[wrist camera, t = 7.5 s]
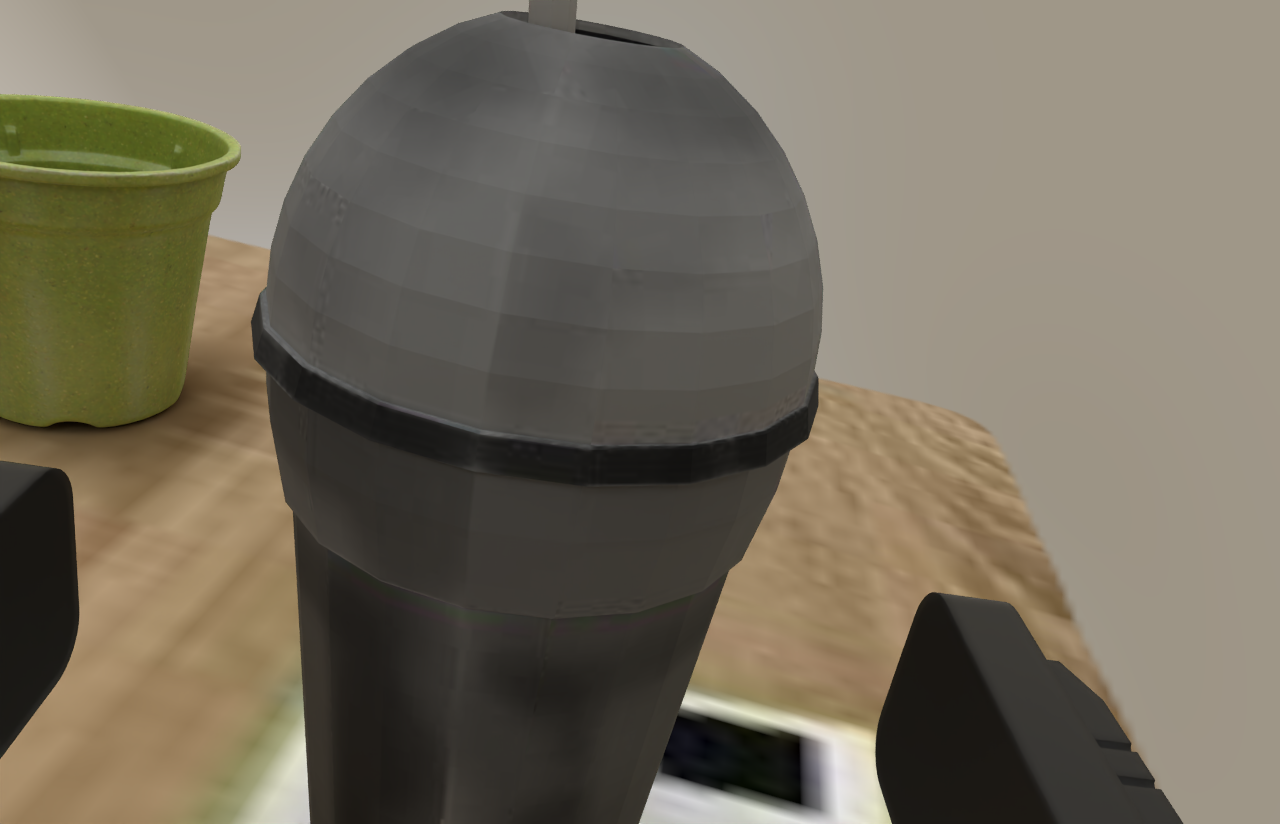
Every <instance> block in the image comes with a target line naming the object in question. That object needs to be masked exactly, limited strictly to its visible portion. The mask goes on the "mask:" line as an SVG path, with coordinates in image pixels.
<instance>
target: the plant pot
mask: <svg viewBox="0 0 1280 824" xmlns="http://www.w3.org/2000/svg"><path fill="white" fill-rule="evenodd" d="M240 157H241V146H240V144H239V143H238V141H236V140H235V139H234V138H233V137H232V136H230V135H228V134H227V133H225V132H223V131H221V130H219V129H217V128H214V127H212V126H210V125H208V124H205V123H202V122H200V121H196V120H193V119H190V118H187V117H183V116H180V115H176V114H172V113H168V112H163V111H158V110H153V109H148V108H142V107H136V106H130V105H125V104H117V103H110V102H102V101H93V100H86V99H77V98H64V97H52V96H51V97H50V96H37V95H15V94H12V95H6V94H0V417H2V418H5V419H8V420H11V421H14V422H18V423H22V424H26V425H32V426H39V427H46V426H50V425H52V424H54V423H58V422H65V421H76V422H82V423H87V424H90V425H93V426H95V427H112V426H118V425H124V424H128V423H131V422H135V421H139V420H143V419H145V418H148V417H151V416H153V415H155V414H158V413H160V412H162V411H164V410H165V409H167V408H168V407H170V406H171V405H172V404H174V403H175V402H176V401H177V399H178V398H179V396H180V393H181V391H182V388H183V385H184V381H185V375H186V369H187V363H188V356H189V349H190V343H191V336H192V329H193V322H194V315H195V308H196V302H197V297H198V291H199V285H200V279H201V273H202V267H203V261H204V255H205V249H206V243H207V237H208V231H209V225H210V220H211V215H212V212H213V211H214V210H215V209H216V208H217V207H218V205H219V203H220V200H221V196H222V191H223V186H224V181H225V177H226V173H227V171H228V170H231V169H232V168H234V167H235V166H236V165H237V164H238V162H239V161H240Z"/></svg>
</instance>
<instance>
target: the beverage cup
mask: <svg viewBox="0 0 1280 824" xmlns="http://www.w3.org/2000/svg"><path fill="white" fill-rule="evenodd" d="M576 9H577V0H529V13H528V12H516V11H501V12H498V13H494V14H491V15H487V16H483V17H480V18H476V19H472V20H469V21H465V22H462V23H458V24H456V25H454V26H452V27H450V28H448V29H446V30H444V31H442V32H440V33H438V34H435V35H433V36H431V37H429V38H427V39H425V40H423V41H421V42H419V43H417V44H415V45H414V46H412V47H411V48H409V49H407V50H406V51H404V52H403V53H402V54H400V55H399V56H398V57H396V58H395V59H393V60H392V61H391V62H389V63H388V64H387V65H385V66H384V67H382V68H381V69H380V70H378V71H377V72H376V73H375V74H373V75H372V76H370V77H369V78H368V79H367V80H366V81H365V82H364V83H363V84H362V85H361V86H360V87H359V88H358V89H357V90H356V91H355V92H354V93H353V94H352V95H351V96H350V97H349V98H348V99H347V100H346V101H345V102H344V103H343V104H342V106H341V107H340V108H339V109H338V110H337V111H336V112H335V113H334V114H333V115H332V116H331V118H330V119H329V121H328V122H327V124H326V125H325V127H324V128H323V130H322V131H321V133H320V134H319V135H318V137H317V138H316V140H315V141H314V143H313V144H312V146H311V147H310V149H309V150H308V151H307V153H306V154H305V156H304V158H303V160H302V163H301V165H300V167H299V169H298V171H297V173H296V175H295V178H294V180H293V182H292V184H291V186H290V188H289V190H288V193H287V195H286V197H285V199H284V202H283V206H282V209H281V213H280V216H279V220H278V224H277V227H276V231H275V234H274V238H273V241H272V245H271V252H270V261H269V270H268V279H267V287H266V288H265V289H264V290H263V291H262V292H261V293H260V295H259V298H258V301H257V304H256V308H255V311H254V314H253V317H252V320H251V326H252V338H253V350H254V359H255V360H256V361H257V362H258V363H259V364H260V365H261V366H262V367H263V369H264V370H265V371H266V384H267V394H268V404H269V413H270V422H271V427H272V433H273V438H274V443H275V449H276V454H277V459H278V464H279V470H280V475H281V480H282V486H283V491H284V496H285V502H286V503H287V504H288V505H289V507H290V508H291V509H292V510H293V521H294V539H295V557H296V575H297V592H298V610H299V628H300V646H301V664H302V682H303V700H304V718H305V736H306V753H307V771H308V789H309V807H310V824H639V821H640V818H641V816H642V813H643V810H644V807H645V804H646V802H647V799H648V796H649V793H650V790H651V788H652V785H653V782H654V779H655V776H656V773H657V771H658V768H659V765H660V762H661V759H662V757H663V754H664V751H665V748H666V745H667V743H668V740H669V737H670V734H671V731H672V729H673V726H674V723H675V720H676V717H677V715H678V712H679V709H680V706H681V703H682V701H683V698H684V695H685V692H686V689H687V687H688V684H689V681H690V678H691V675H692V673H693V670H694V667H695V664H696V661H697V659H698V656H699V653H700V650H701V647H702V645H703V642H704V639H705V636H706V633H707V631H708V628H709V625H710V622H711V619H712V617H713V614H714V611H715V608H716V605H717V603H718V600H719V597H720V594H721V591H722V588H723V586H724V583H725V580H726V577H727V574H728V572H729V570H730V569H731V568H732V567H734V566H735V565H736V564H737V563H739V562H740V561H741V560H742V558H743V556H744V554H745V552H746V550H747V548H748V546H749V544H750V542H751V540H752V538H753V536H754V534H755V532H756V530H757V528H758V526H759V524H760V522H761V520H762V518H763V516H764V514H765V512H766V510H767V508H768V506H769V504H770V502H771V500H772V498H773V497H774V495H775V493H776V491H777V488H778V485H779V482H780V479H781V476H782V473H783V470H784V467H785V464H786V461H787V458H788V455H789V452H790V450H792V449H793V448H795V447H796V446H798V445H799V444H801V443H802V442H804V441H805V440H807V439H808V438H809V434H810V431H811V428H812V425H813V421H814V418H815V415H816V412H817V408H818V376H817V374H816V373H815V371H814V369H815V364H816V359H817V354H818V348H819V343H820V338H821V332H822V302H823V283H822V275H821V267H820V258H819V250H818V242H817V238H816V234H815V231H814V228H813V224H812V220H811V217H810V213H809V210H808V206H807V203H806V199H805V196H804V193H803V191H802V189H801V187H800V185H799V183H798V180H797V178H796V176H795V174H794V172H793V170H792V168H791V166H790V163H789V161H788V159H787V157H786V155H785V153H784V151H783V149H782V148H781V146H780V145H779V143H778V142H777V140H776V139H775V137H774V136H773V134H772V133H771V132H770V130H769V129H768V127H767V126H766V124H765V123H764V121H763V120H762V118H761V117H760V115H759V114H758V112H757V111H756V110H755V109H754V108H753V107H752V106H751V105H750V104H749V103H748V102H747V101H746V99H744V97H742V95H741V94H740V93H739V92H738V91H737V90H736V89H735V88H734V87H733V86H732V85H731V84H730V83H729V82H728V81H727V80H726V78H725V77H724V76H723V75H722V74H721V73H720V72H719V71H717V70H716V69H715V68H713V67H712V66H711V65H709V64H708V63H706V62H705V61H704V60H702V59H701V58H700V57H698V56H697V55H696V54H694V53H693V52H691V51H690V50H689V49H687V48H686V47H685V46H683V45H682V44H679V43H676V42H673V41H671V40H668V39H664V38H661V37H657V36H653V35H649V34H645V33H641V32H637V31H632V30H628V29H623V28H618V27H613V26H609V25H603V24H598V23H593V22H587V21H582V20H576Z"/></svg>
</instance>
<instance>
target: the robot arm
mask: <svg viewBox="0 0 1280 824" xmlns="http://www.w3.org/2000/svg"><path fill="white" fill-rule="evenodd" d="M78 625H79V596H78V578H77V560H76V542H75V524H74V507H73V493H72V487H71V483H70V481H69V478H68V476H67V475H66V474H65V472H63V471H62V470H60V469H57V468H50V467H42V466H35V465H28V464H21V463H14V462H6V461H0V759H1V757H2V756H3V755H4V753H5V752H6V751H7V749H8V748H9V747H10V745H11V744H12V743H13V741H14V740H15V739H16V737H17V736H18V735H19V733H20V732H21V731H22V729H23V728H24V727H25V725H26V724H27V723H28V721H29V720H30V719H31V717H32V716H33V715H34V713H35V712H36V711H37V709H38V708H39V707H40V705H41V704H42V703H43V701H44V700H45V699H46V697H47V696H48V695H49V693H50V692H51V691H52V689H53V688H54V687H55V685H56V684H57V682H58V681H59V679H60V678H61V676H62V674H63V672H64V671H65V669H66V666H67V664H68V662H69V659H70V657H71V654H72V651H73V648H74V644H75V640H76V636H77V631H78ZM876 769H877V775H878V780H879V784H880V787H881V790H882V794H883V797H884V800H885V803H886V806H887V809H888V812H889V815H890V819H891V822H892V824H1183V822H1182V821H1181V819H1180V818H1179V816H1178V815H1177V813H1176V812H1175V810H1174V808H1173V807H1172V805H1171V804H1170V802H1169V801H1168V799H1167V798H1166V796H1165V795H1164V793H1163V792H1162V790H1161V789H1155V786H1154V782H1155V779H1154V778H1153V776H1152V775H1151V773H1150V772H1149V770H1148V768H1147V767H1146V765H1145V764H1144V762H1143V761H1142V759H1141V758H1140V756H1139V755H1138V753H1137V752H1131V742H1130V741H1129V739H1128V738H1127V736H1126V735H1125V733H1124V732H1123V730H1122V728H1121V727H1120V725H1119V724H1118V722H1117V721H1116V719H1115V718H1114V716H1113V715H1112V713H1111V712H1110V710H1109V708H1108V707H1107V705H1106V704H1105V702H1104V701H1103V700H1102V699H1101V698H1100V697H1099V696H1098V695H1097V694H1095V693H1094V692H1093V691H1092V690H1091V689H1090V688H1089V687H1087V686H1086V685H1085V684H1084V683H1083V682H1082V681H1081V680H1080V679H1078V678H1077V677H1076V676H1075V675H1074V674H1073V673H1072V672H1071V671H1069V670H1068V669H1067V668H1066V667H1065V666H1064V665H1063V664H1062V663H1060V662H1059V661H1053V660H1046V658H1045V656H1044V655H1043V653H1042V651H1041V650H1040V648H1039V646H1038V645H1037V643H1036V641H1035V640H1034V638H1033V637H1032V635H1031V633H1030V632H1029V630H1028V628H1027V627H1026V625H1025V623H1024V622H1023V620H1022V618H1021V617H1020V615H1019V614H1018V612H1017V611H1016V609H1015V608H1014V607H1013V606H1012V605H1011V604H1009V603H1007V602H1001V601H994V600H987V599H979V598H972V597H965V596H958V595H951V594H943V593H936V592H932V593H930V594H928V595H927V596H926V597H924V599H923V600H922V601H921V603H920V605H919V607H918V609H917V611H916V614H915V617H914V620H913V623H912V625H911V628H910V631H909V634H908V637H907V640H906V643H905V646H904V648H903V651H902V654H901V657H900V660H899V663H898V666H897V669H896V671H895V674H894V677H893V680H892V683H891V686H890V689H889V692H888V694H887V697H886V700H885V703H884V706H883V709H882V712H881V715H880V718H879V723H878V728H877V735H876Z"/></svg>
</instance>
